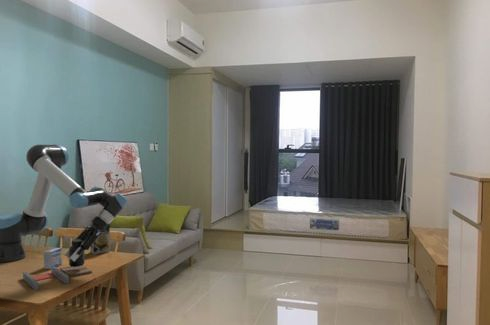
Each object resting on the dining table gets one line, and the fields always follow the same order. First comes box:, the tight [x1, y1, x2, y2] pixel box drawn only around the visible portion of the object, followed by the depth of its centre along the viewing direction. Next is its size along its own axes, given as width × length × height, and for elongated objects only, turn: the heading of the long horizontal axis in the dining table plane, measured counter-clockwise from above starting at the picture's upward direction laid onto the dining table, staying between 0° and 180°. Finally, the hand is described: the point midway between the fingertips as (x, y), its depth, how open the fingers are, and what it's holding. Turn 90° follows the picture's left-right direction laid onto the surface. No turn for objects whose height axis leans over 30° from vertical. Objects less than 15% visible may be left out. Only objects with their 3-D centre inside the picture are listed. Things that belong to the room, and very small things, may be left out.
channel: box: [22, 266, 70, 291], centre depth 176 cm, size 20×13×3 cm
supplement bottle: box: [68, 238, 86, 267], centre depth 189 cm, size 7×7×12 cm
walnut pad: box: [59, 265, 93, 278], centre depth 190 cm, size 14×10×1 cm
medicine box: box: [43, 247, 63, 270], centre depth 197 cm, size 8×4×9 cm, turn 168°
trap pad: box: [32, 272, 55, 282], centre depth 180 cm, size 6×9×1 cm, turn 133°
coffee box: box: [89, 223, 111, 255], centre depth 225 cm, size 9×6×16 cm
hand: (69, 258), depth 186 cm, fingers closed on supplement bottle, 7 cm apart
